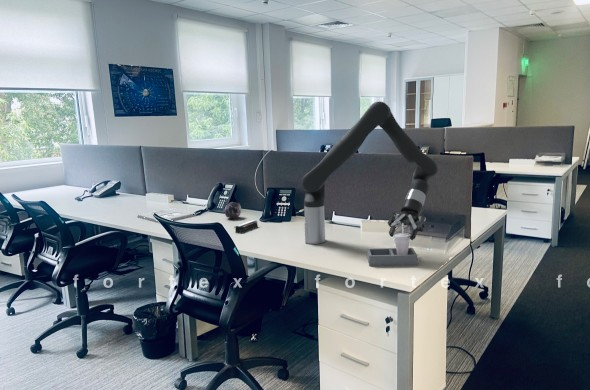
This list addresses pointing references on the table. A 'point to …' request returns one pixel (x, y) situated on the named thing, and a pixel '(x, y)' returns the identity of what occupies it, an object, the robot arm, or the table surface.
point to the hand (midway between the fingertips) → (400, 237)
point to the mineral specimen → (232, 210)
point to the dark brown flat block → (246, 226)
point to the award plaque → (168, 214)
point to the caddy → (390, 257)
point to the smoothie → (402, 242)
